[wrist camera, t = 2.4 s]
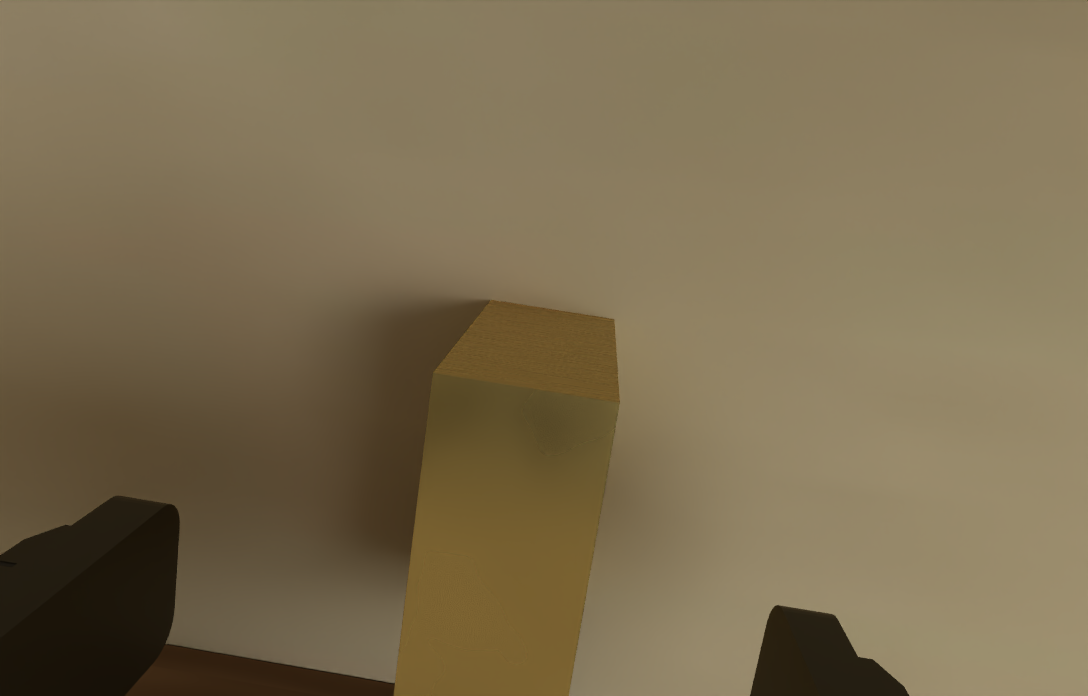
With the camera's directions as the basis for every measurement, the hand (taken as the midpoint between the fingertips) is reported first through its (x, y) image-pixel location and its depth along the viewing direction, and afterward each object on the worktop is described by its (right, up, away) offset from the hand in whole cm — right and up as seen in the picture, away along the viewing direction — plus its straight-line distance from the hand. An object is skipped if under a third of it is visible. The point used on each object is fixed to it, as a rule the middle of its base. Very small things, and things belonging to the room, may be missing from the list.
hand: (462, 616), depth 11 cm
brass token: (+1, +1, +6) cm, 7 cm away
